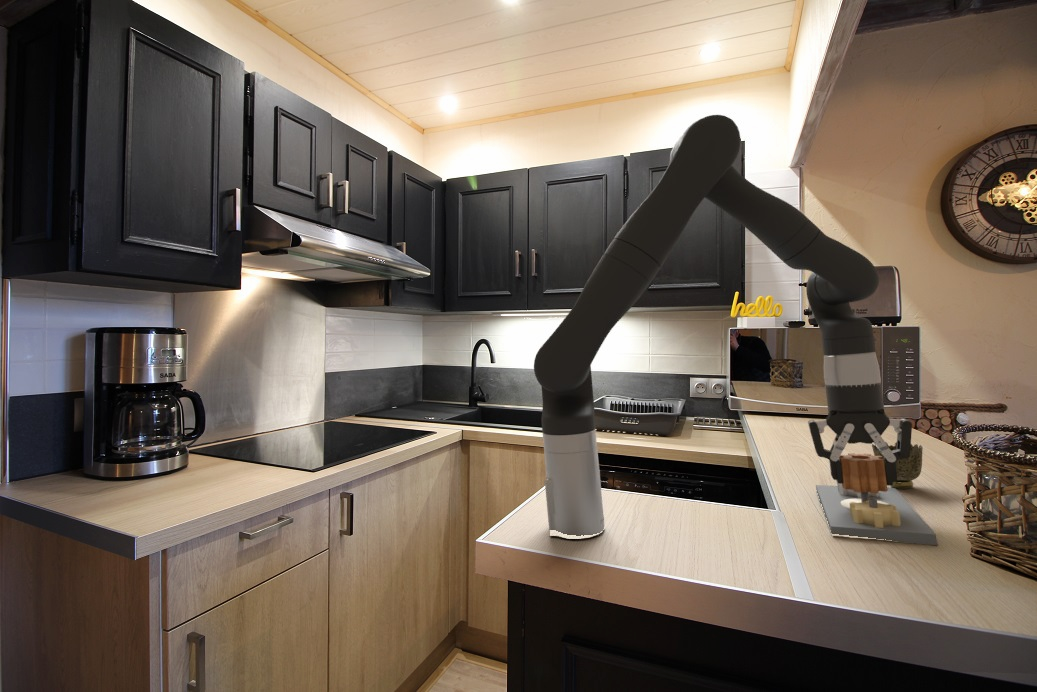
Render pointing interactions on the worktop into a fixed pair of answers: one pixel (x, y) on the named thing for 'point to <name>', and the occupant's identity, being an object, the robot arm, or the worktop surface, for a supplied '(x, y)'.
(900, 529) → the gear board
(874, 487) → the idler gear
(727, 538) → the worktop surface
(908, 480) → the cup
